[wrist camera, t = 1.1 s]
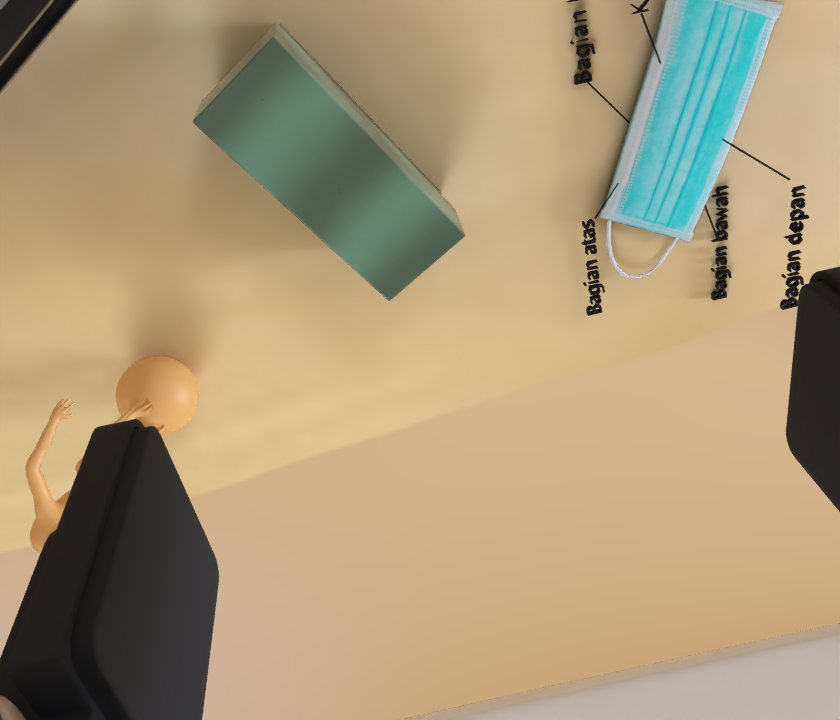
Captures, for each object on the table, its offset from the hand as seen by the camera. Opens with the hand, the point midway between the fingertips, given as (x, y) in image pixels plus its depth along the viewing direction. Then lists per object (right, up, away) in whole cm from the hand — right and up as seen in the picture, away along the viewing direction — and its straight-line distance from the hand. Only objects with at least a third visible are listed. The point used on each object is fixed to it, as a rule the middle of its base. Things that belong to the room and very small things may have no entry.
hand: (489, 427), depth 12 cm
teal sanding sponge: (-5, +11, +25) cm, 28 cm away
